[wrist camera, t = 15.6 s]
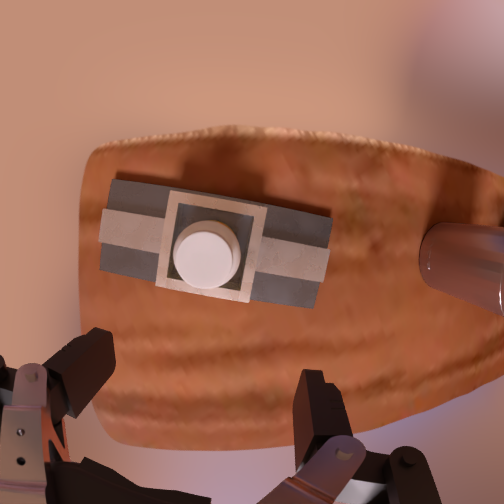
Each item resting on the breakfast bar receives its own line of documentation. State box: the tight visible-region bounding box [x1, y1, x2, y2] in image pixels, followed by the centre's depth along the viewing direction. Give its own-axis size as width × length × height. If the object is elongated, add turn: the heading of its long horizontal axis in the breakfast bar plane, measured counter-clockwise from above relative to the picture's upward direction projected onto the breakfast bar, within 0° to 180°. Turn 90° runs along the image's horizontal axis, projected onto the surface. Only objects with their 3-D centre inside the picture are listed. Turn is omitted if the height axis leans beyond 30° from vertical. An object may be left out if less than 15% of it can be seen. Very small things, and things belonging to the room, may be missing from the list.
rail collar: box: [99, 179, 333, 309], centre depth 27 cm, size 24×10×4 cm, turn 79°
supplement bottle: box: [173, 220, 241, 289], centre depth 24 cm, size 5×5×10 cm
